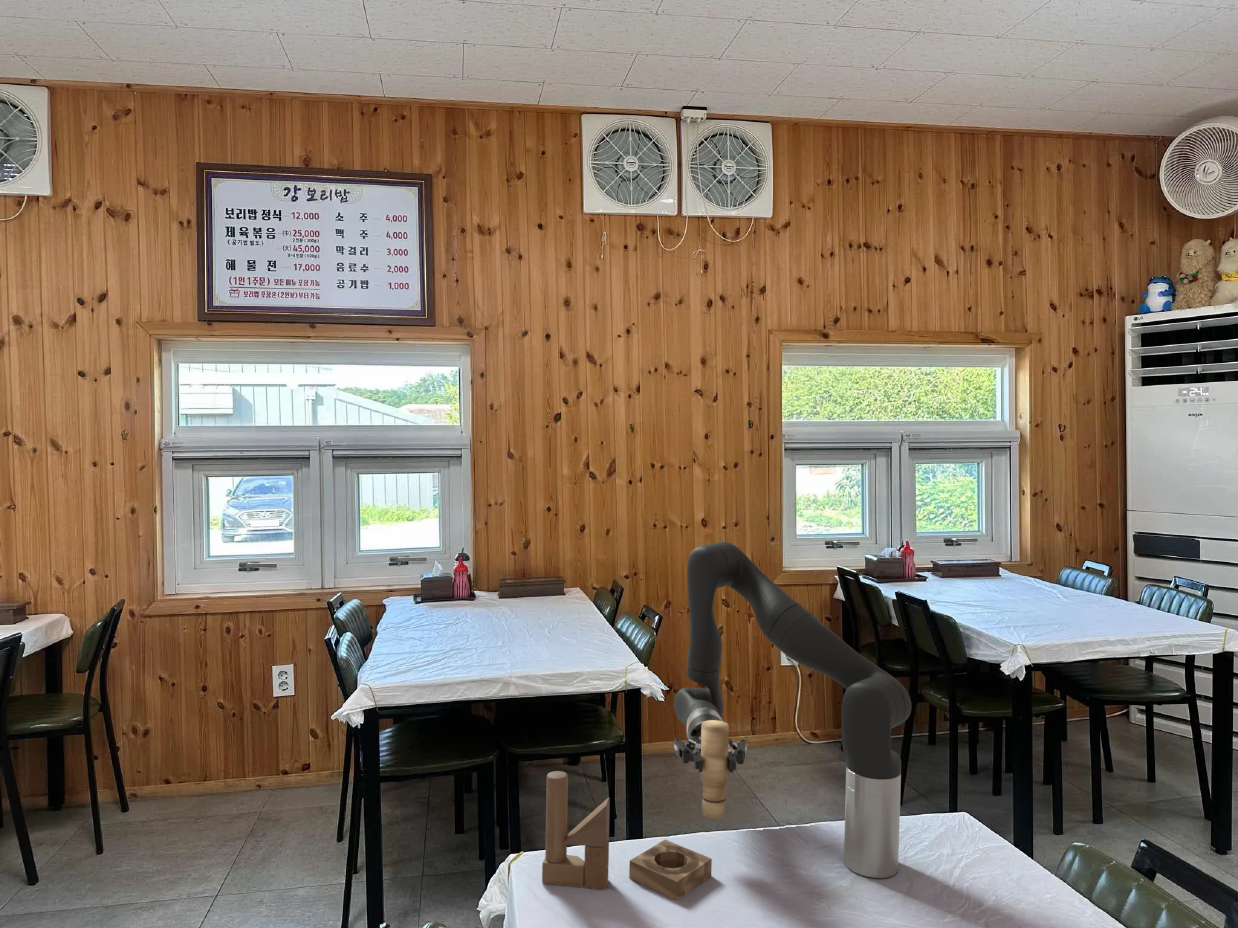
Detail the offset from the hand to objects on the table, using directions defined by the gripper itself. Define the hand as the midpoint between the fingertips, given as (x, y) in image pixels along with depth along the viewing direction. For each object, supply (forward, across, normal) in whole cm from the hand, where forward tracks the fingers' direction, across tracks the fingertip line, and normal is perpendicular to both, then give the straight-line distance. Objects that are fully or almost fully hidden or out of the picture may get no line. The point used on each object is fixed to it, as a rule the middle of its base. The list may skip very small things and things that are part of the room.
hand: (716, 766), depth 143 cm
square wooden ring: (+4, -8, +18) cm, 20 cm away
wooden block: (+6, -24, +18) cm, 30 cm away
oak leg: (-3, 0, +10) cm, 10 cm away
